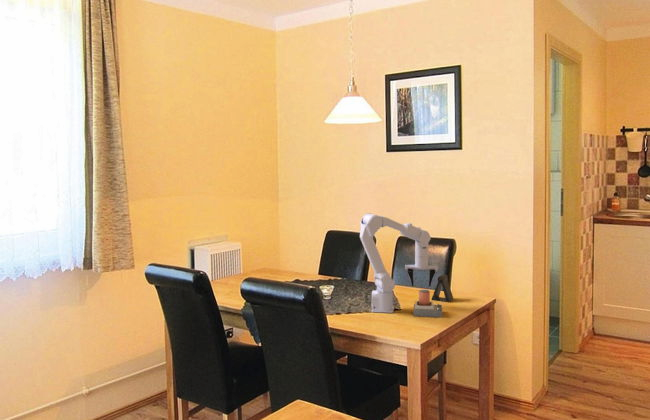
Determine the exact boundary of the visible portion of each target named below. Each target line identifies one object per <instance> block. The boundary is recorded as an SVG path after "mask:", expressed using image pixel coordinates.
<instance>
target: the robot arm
mask: <svg viewBox="0 0 650 420" xmlns="http://www.w3.org/2000/svg"><path fill="white" fill-rule="evenodd" d="M359 223H360V230H359V239H360V242H361V243H362V246H363V248H364V251H365V253H366V256H367V258H368V260H369V263H370V265H371V268H372V270H373V277H374V285H375V286H376V289H375V290H372V291H371V310H370V311H371V312H372V313H387V314H388V313H390V314H392V313H394V309H395V307H394V306H393V303H394V301H393V300H394V295H393V293H394V289H395V286H396V282H395V280H394V279H393V278H392V277H391V276H390V273H388V270H387V269H386V267H385V264H384V262H383V260H382V258H381V255H380V252H379V250H378V248H377V246H376V243H375V241H374V236H375V235H376V233H377V232H378V231H379V230H380V229H381V228H385V227H388V228H390V229H393V230H396V231H398V232H399V233H400V234H401V236H403V237H405V238H408V239H411V240H413V241H414V242H415V243H414V244H415V245H414V246H415V247H414V248H415V249H414V250H415V251H414V264H405V265H404V266H405V267H404V270H405V271H406V270H407V273H408V275H409V278H410V281H411V286H412V287H414V271H429V277H428V278H429V280H428V287H432V281H433V278H434V276H435V274H436V272H438V270H439V266H438V265H432V264H431V265H430V264H429V243H430V241H431V239H432V237H431V235H430V233H429V232H428V231H427V230H424V229H422V228H421V227H419V226H414V225H413V223H410V222H408V223H403V224H402V223H400V222H397V221H396V220H393V219H391V218H388V217H385V216H382V215H377V214H374V213H373V214H372V213H371V212H368V213H365V214H363V216H362V218H361V219H360V222H359Z"/></svg>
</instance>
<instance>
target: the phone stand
mask: <svg viewBox="0 0 650 420" xmlns="http://www.w3.org/2000/svg"><path fill="white" fill-rule="evenodd" d="M448 278H449V276H448V274H444V273H442V274H441V275H439V276H438V278H437V284H436V286H435V289H434V291H433V294H432V295H431V296H432V297H431V300H430V301H433V302H434V301H436V302H442V303H450V302H452V301H453V300H454V296H453V293H452V291H451V287H450V283H449V281H448V280H449V279H448ZM441 291H443V293H444V296H443V297H442V296H440V294H441Z"/></svg>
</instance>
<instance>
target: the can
mask: <svg viewBox="0 0 650 420" xmlns="http://www.w3.org/2000/svg"><path fill="white" fill-rule="evenodd" d="M430 292H431V291H430V290H428V289H420V290H418V301H419V305H423V306H430V302H431V300H430V298H431V297H430V294H431V293H430Z"/></svg>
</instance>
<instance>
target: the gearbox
mask: <svg viewBox="0 0 650 420" xmlns="http://www.w3.org/2000/svg"><path fill="white" fill-rule="evenodd" d="M413 317H422V318H423V317H424V318H425V317H426V318H443V307H442V304H440V303H436V304H434V301H430V306H423V305H419V300H415V302H414V304H413Z"/></svg>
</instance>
